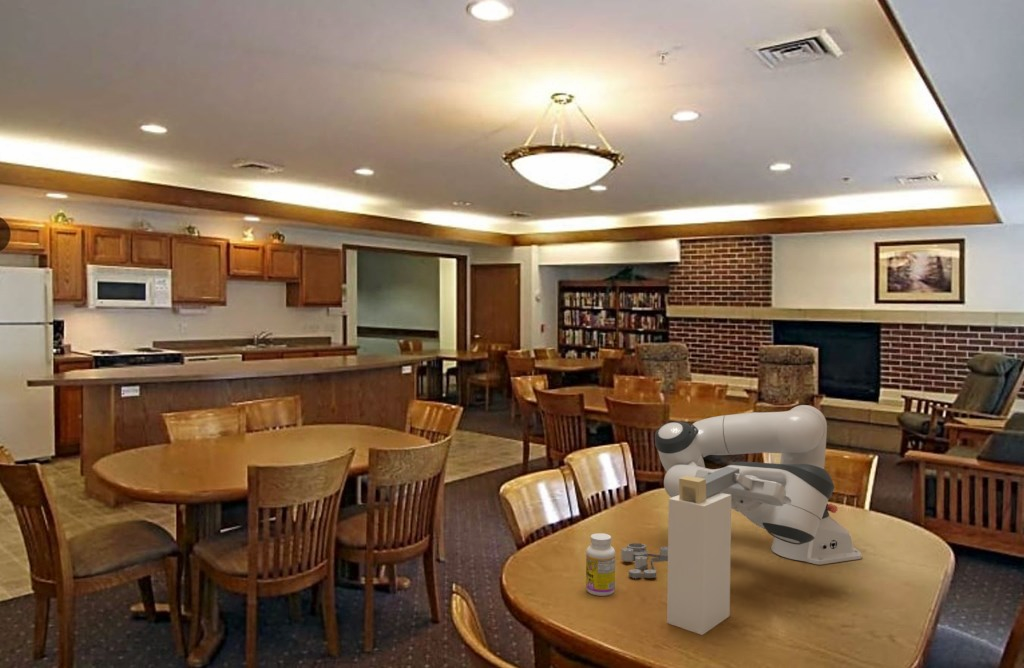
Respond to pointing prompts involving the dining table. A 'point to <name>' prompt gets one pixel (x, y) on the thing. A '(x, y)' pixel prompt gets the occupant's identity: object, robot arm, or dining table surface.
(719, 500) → the pillar
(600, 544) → the supplement bottle
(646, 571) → the pulley system
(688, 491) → the bar
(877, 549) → the dining table surface
